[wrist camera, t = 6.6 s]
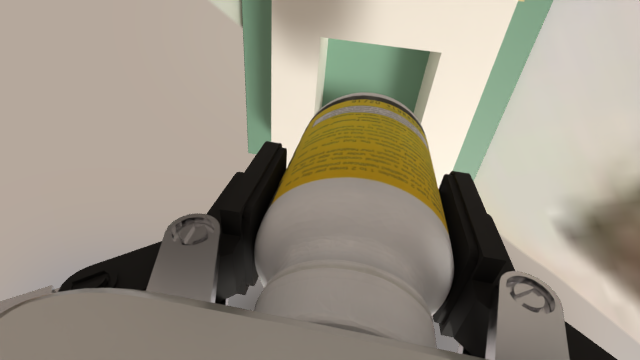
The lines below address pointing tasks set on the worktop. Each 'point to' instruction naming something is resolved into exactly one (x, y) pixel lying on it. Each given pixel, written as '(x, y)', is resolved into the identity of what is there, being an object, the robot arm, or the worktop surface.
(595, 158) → the worktop surface
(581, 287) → the worktop surface
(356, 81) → the board
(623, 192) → the worktop surface
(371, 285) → the supplement bottle
